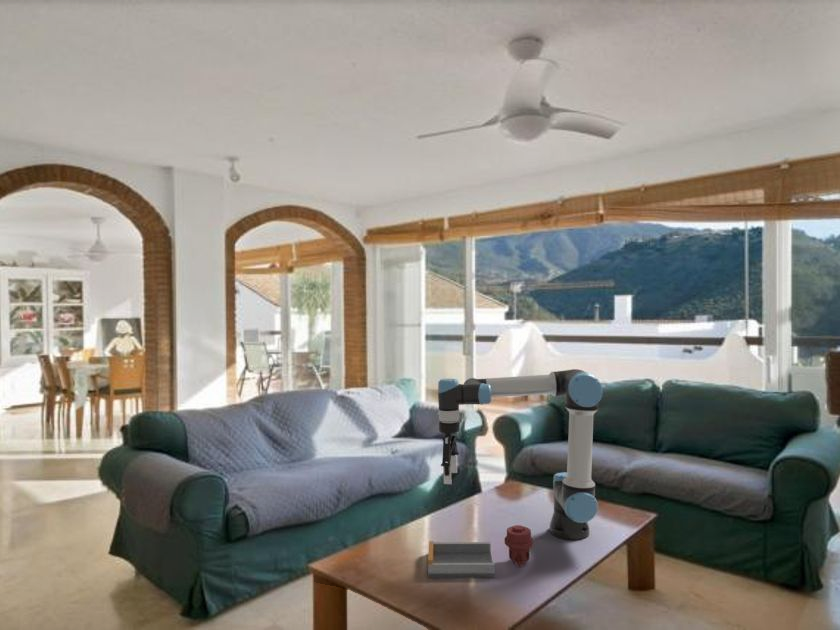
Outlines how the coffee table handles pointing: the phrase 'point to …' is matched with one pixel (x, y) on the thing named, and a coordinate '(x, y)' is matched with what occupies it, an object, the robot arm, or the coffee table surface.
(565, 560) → the coffee table surface
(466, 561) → the grey piece
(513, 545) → the mechanical component
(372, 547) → the coffee table surface
